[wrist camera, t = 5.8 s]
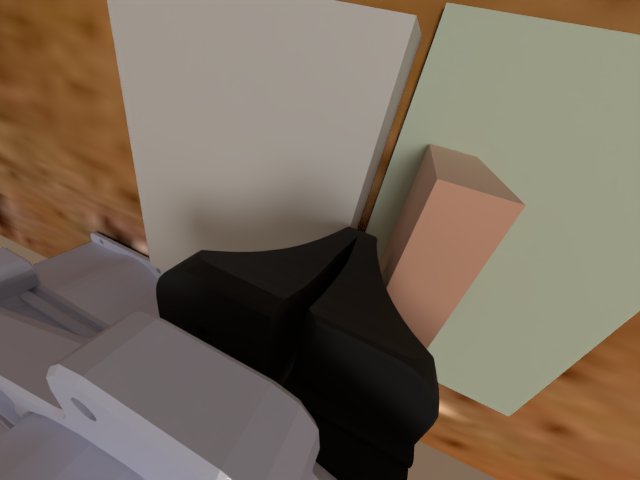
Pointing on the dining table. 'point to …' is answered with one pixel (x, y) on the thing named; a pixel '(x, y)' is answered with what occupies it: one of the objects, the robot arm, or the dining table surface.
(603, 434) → the dining table surface
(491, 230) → the tile
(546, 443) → the dining table surface
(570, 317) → the mat
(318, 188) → the deck
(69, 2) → the dining table surface
